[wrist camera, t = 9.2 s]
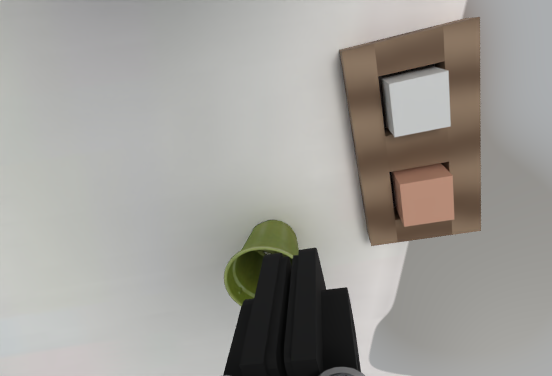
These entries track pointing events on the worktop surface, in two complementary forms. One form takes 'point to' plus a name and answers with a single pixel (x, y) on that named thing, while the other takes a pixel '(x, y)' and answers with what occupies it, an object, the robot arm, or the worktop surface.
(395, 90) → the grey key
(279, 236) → the plant pot
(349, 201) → the worktop surface
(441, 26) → the brown rectangular frame
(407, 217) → the terracotta key
